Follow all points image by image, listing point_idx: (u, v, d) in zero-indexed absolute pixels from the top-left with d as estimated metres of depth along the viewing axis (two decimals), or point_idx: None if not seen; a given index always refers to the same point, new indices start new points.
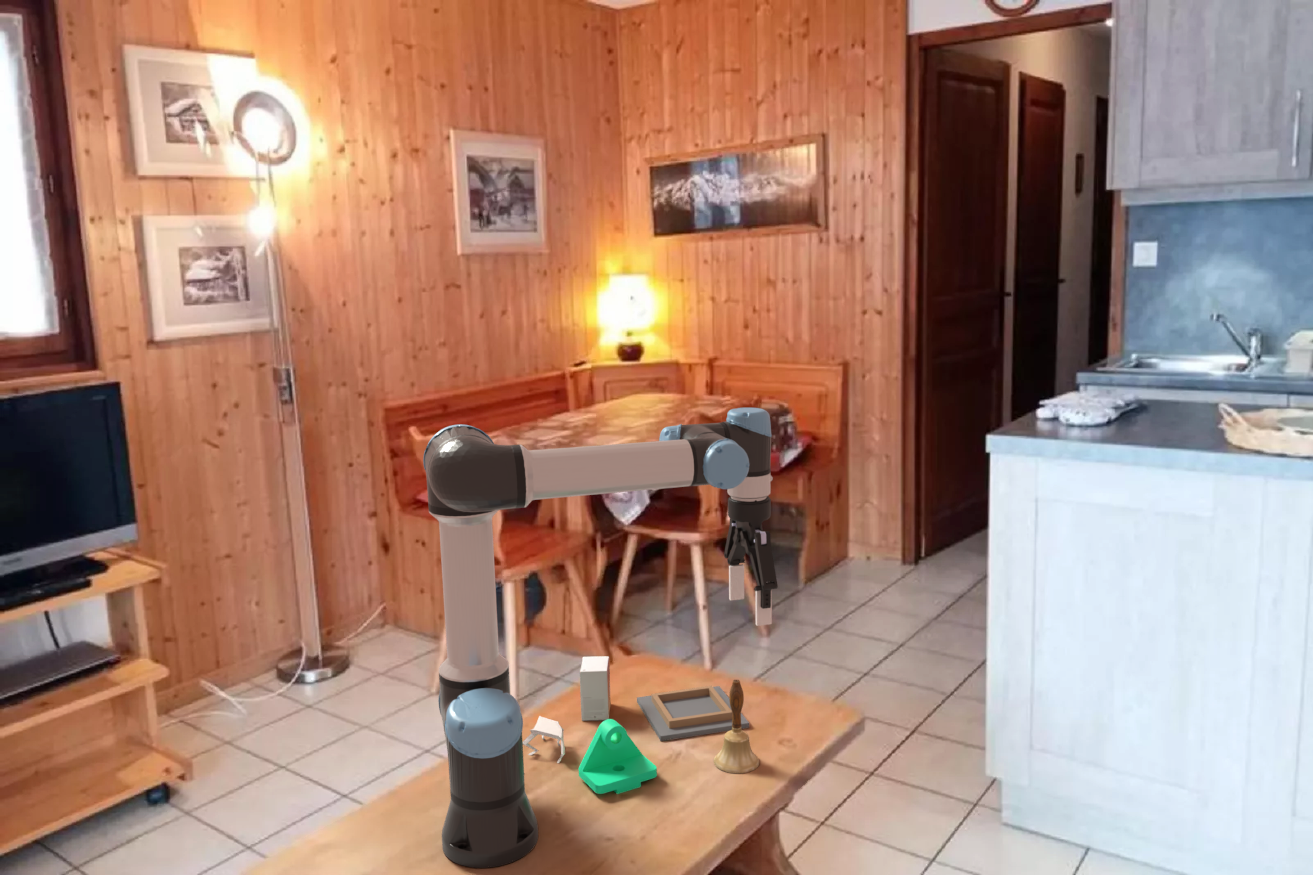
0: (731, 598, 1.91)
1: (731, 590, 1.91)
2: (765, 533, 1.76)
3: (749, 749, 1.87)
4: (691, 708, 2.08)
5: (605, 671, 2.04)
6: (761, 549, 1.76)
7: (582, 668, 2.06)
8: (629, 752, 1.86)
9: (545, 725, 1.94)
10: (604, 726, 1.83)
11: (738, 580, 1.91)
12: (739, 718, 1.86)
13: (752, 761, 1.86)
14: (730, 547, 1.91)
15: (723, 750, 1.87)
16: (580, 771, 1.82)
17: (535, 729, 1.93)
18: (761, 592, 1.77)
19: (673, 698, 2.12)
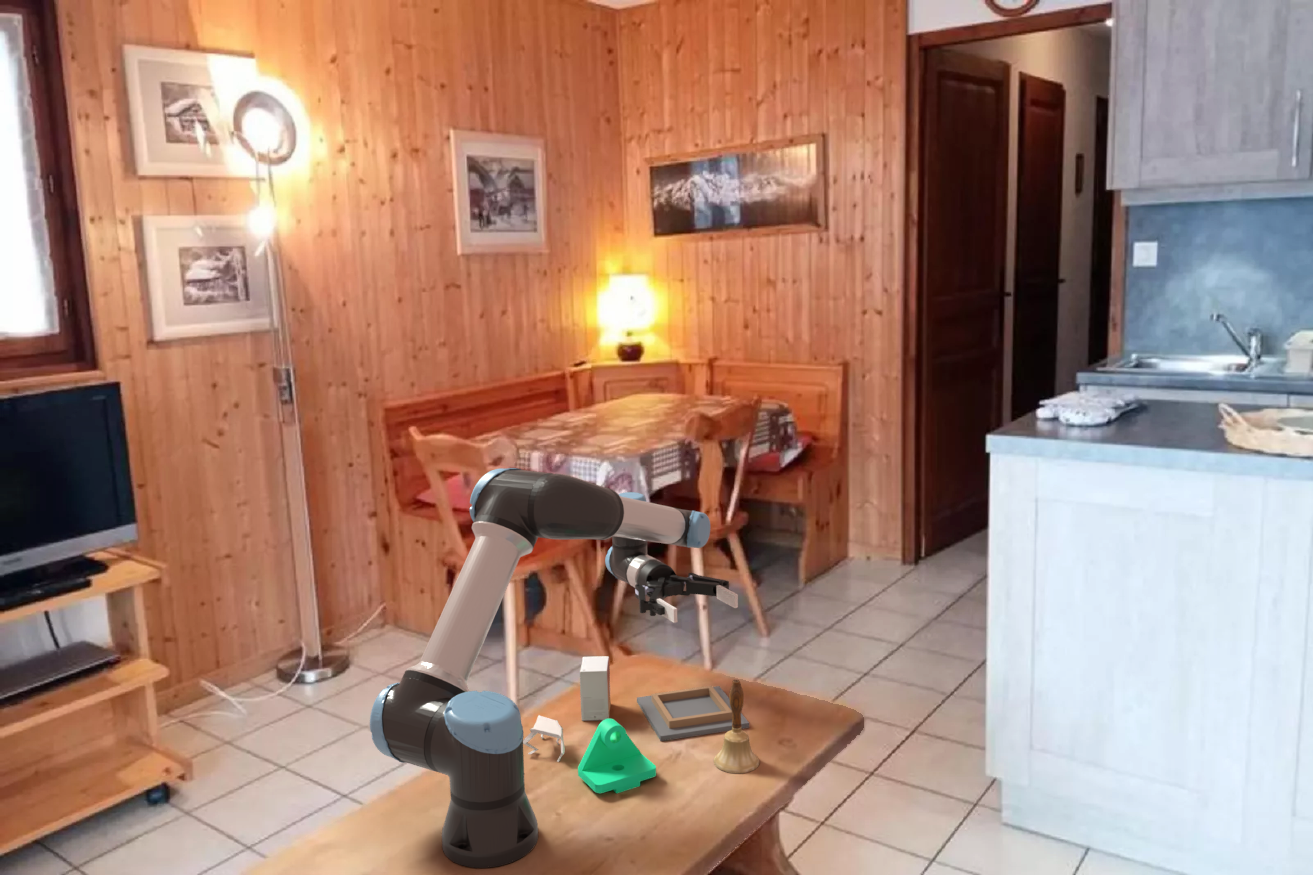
0: None
1: None
2: None
3: (749, 749, 1.87)
4: (691, 708, 2.08)
5: (605, 671, 2.04)
6: None
7: (582, 668, 2.06)
8: (628, 751, 1.86)
9: (545, 724, 1.94)
10: (604, 725, 1.83)
11: None
12: (739, 718, 1.86)
13: (752, 761, 1.86)
14: None
15: (723, 750, 1.87)
16: (579, 770, 1.82)
17: (535, 728, 1.93)
18: None
19: (673, 698, 2.12)
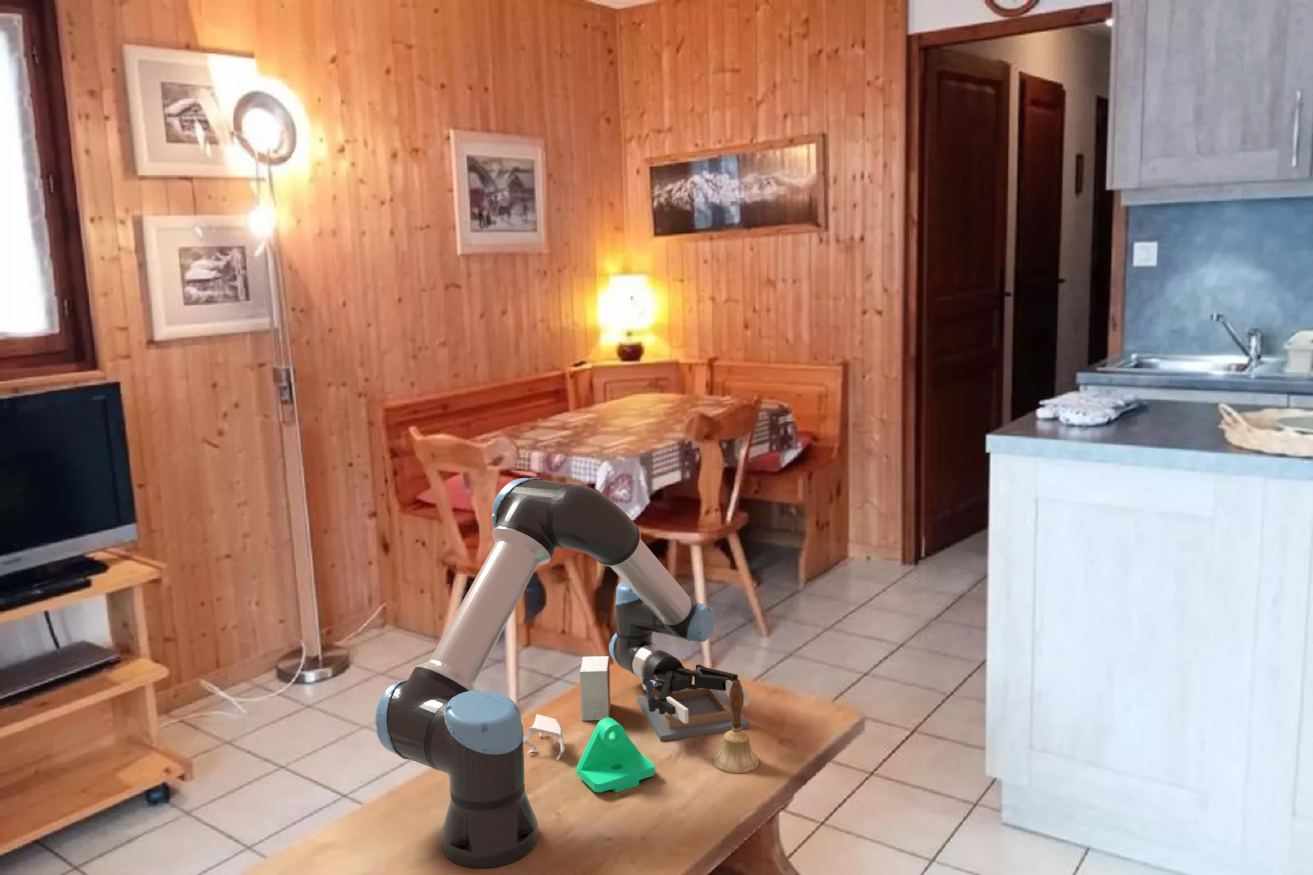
0: None
1: None
2: None
3: (749, 749, 1.87)
4: (691, 708, 2.08)
5: (605, 671, 2.04)
6: None
7: (582, 668, 2.06)
8: (627, 750, 1.86)
9: (543, 723, 1.95)
10: (602, 724, 1.83)
11: None
12: (739, 718, 1.86)
13: (752, 761, 1.86)
14: None
15: (723, 750, 1.87)
16: (578, 770, 1.83)
17: (534, 727, 1.93)
18: None
19: (673, 698, 2.12)
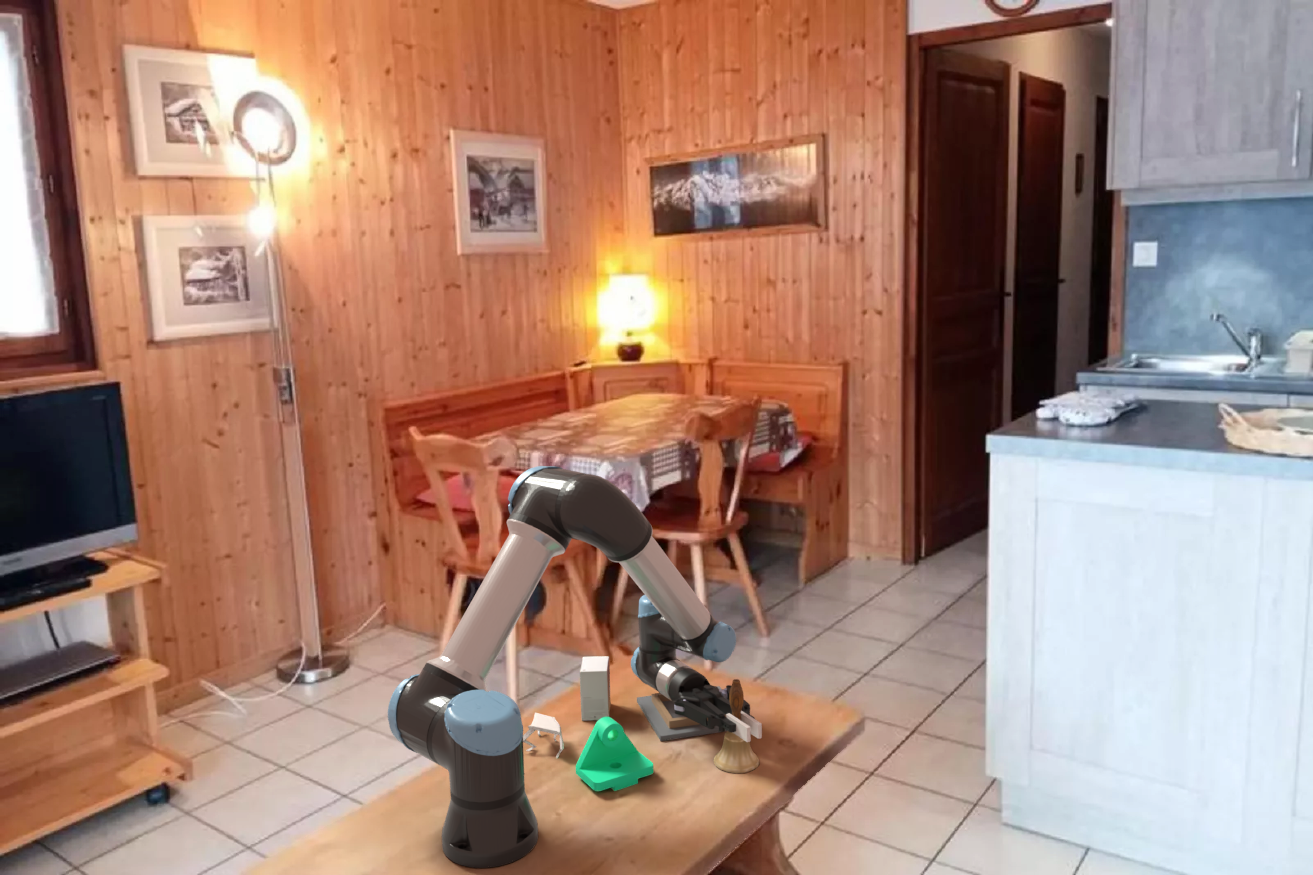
0: None
1: None
2: None
3: (749, 749, 1.87)
4: None
5: (605, 671, 2.04)
6: None
7: (582, 668, 2.06)
8: (625, 749, 1.87)
9: (542, 721, 1.96)
10: (601, 723, 1.84)
11: None
12: (739, 718, 1.86)
13: (752, 761, 1.86)
14: None
15: (723, 750, 1.87)
16: (577, 769, 1.83)
17: (533, 725, 1.94)
18: None
19: None
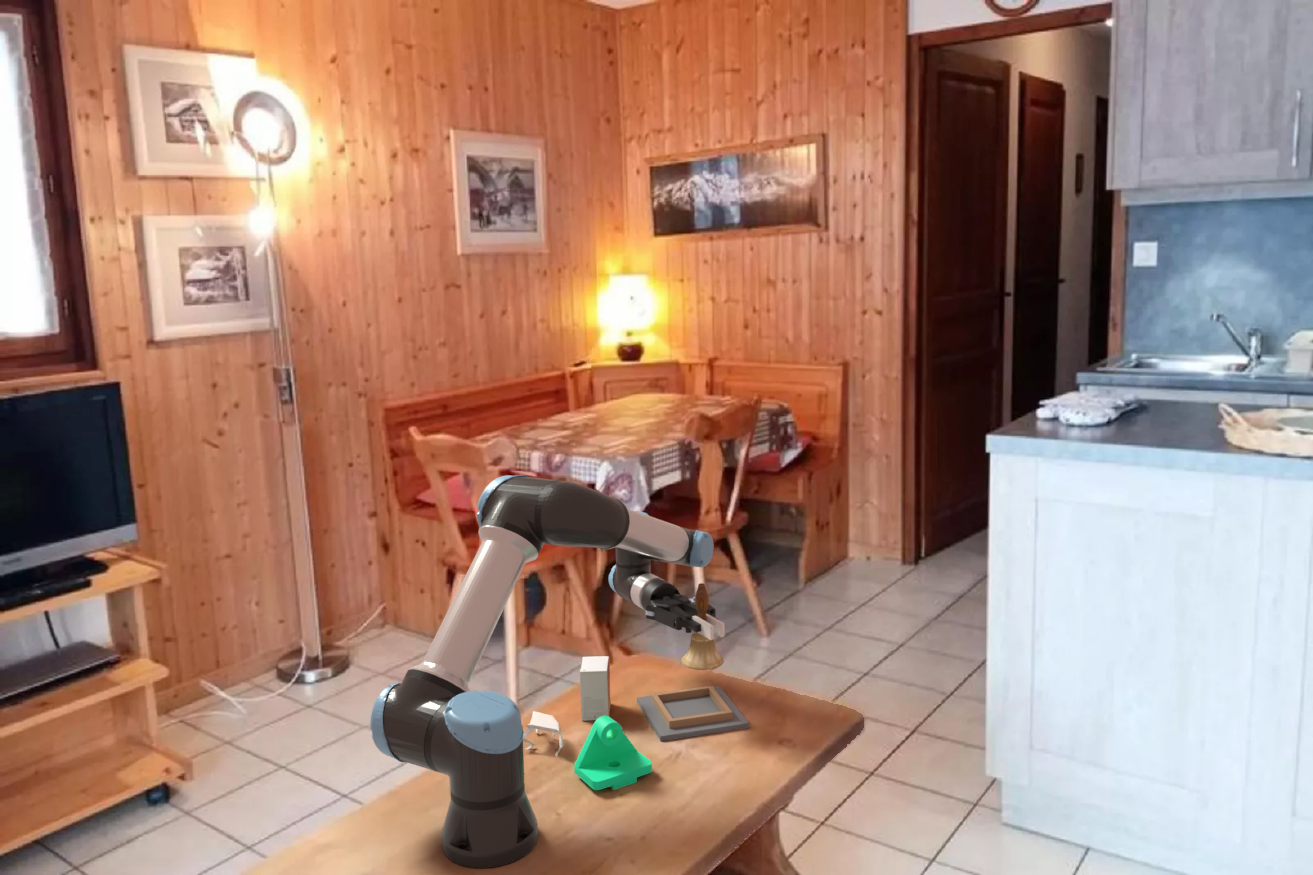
0: None
1: None
2: None
3: (714, 648, 2.01)
4: (691, 708, 2.08)
5: (605, 671, 2.04)
6: None
7: (582, 668, 2.06)
8: (624, 748, 1.87)
9: (541, 719, 1.96)
10: (600, 723, 1.84)
11: None
12: (704, 619, 2.00)
13: (716, 659, 2.00)
14: None
15: (690, 649, 2.01)
16: (576, 768, 1.83)
17: (531, 724, 1.95)
18: None
19: (673, 698, 2.12)
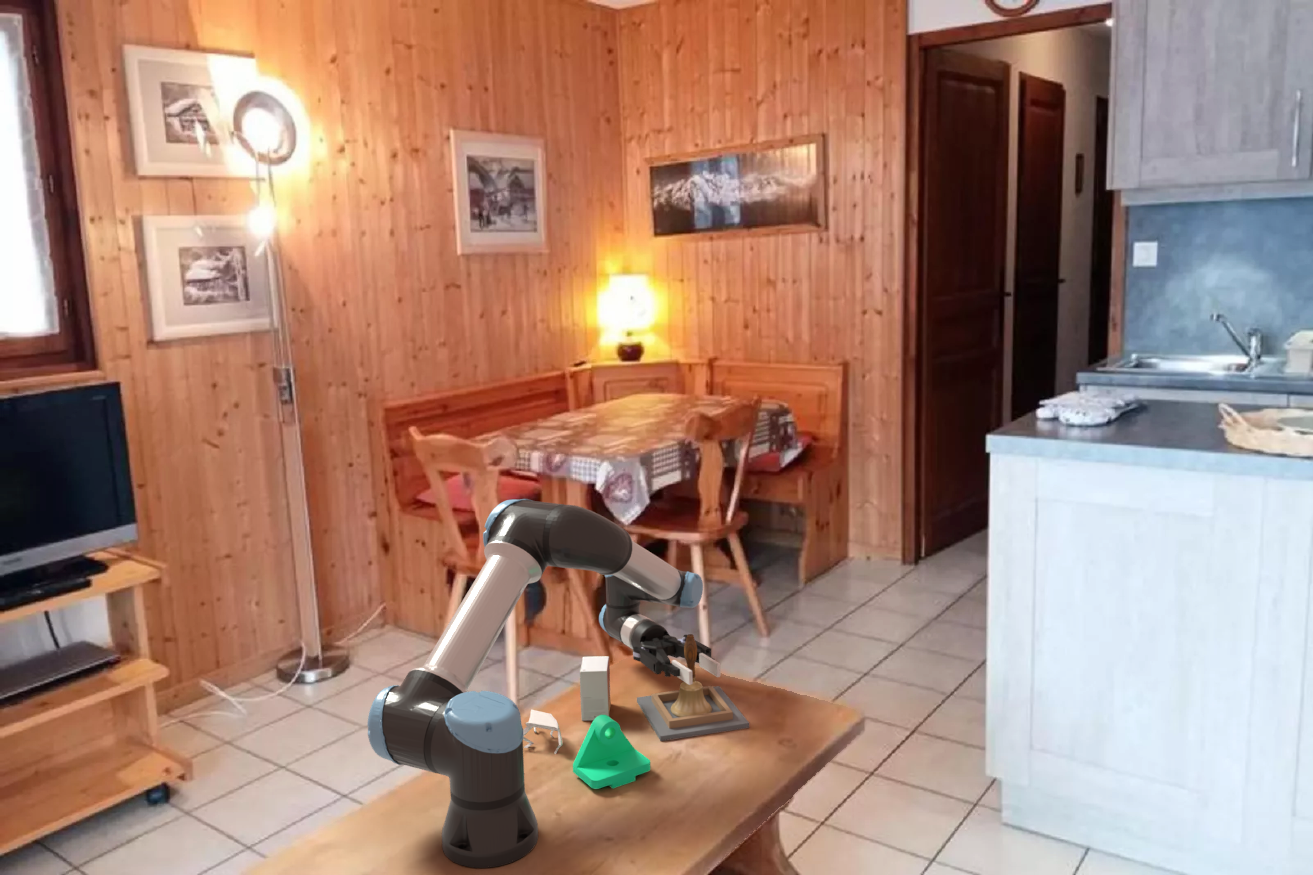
0: None
1: None
2: None
3: (702, 697, 2.06)
4: None
5: (605, 671, 2.04)
6: None
7: (582, 668, 2.06)
8: (622, 747, 1.88)
9: (539, 717, 1.97)
10: (598, 721, 1.84)
11: None
12: (693, 669, 2.05)
13: (705, 708, 2.06)
14: None
15: (679, 698, 2.06)
16: (574, 767, 1.84)
17: (530, 722, 1.96)
18: None
19: (673, 698, 2.12)
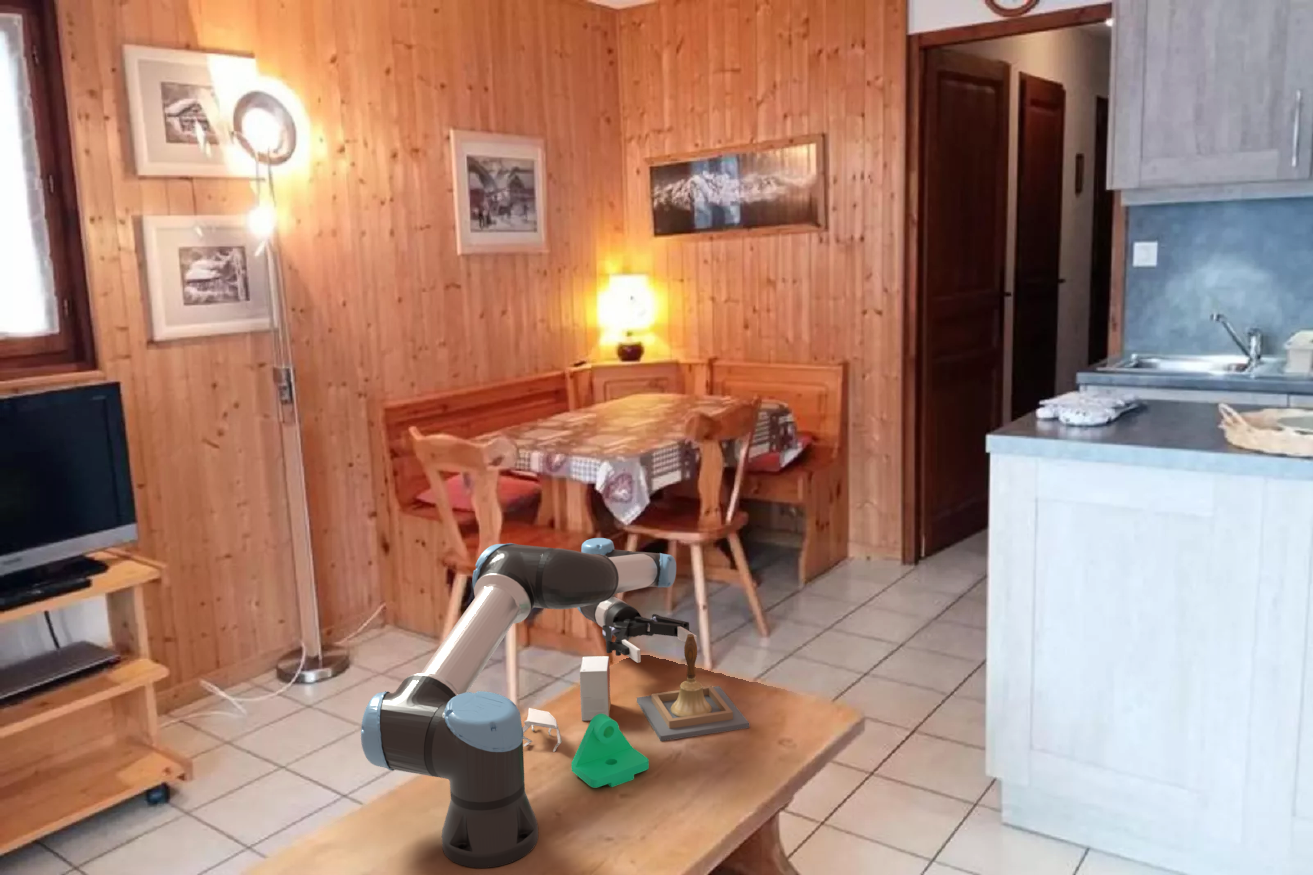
0: None
1: None
2: None
3: (702, 697, 2.06)
4: None
5: (605, 671, 2.04)
6: None
7: (582, 668, 2.06)
8: (620, 746, 1.88)
9: (537, 716, 1.98)
10: (596, 720, 1.85)
11: None
12: (693, 669, 2.05)
13: (705, 708, 2.06)
14: (611, 638, 2.18)
15: (679, 698, 2.06)
16: (573, 766, 1.84)
17: (529, 720, 1.96)
18: None
19: (673, 698, 2.12)
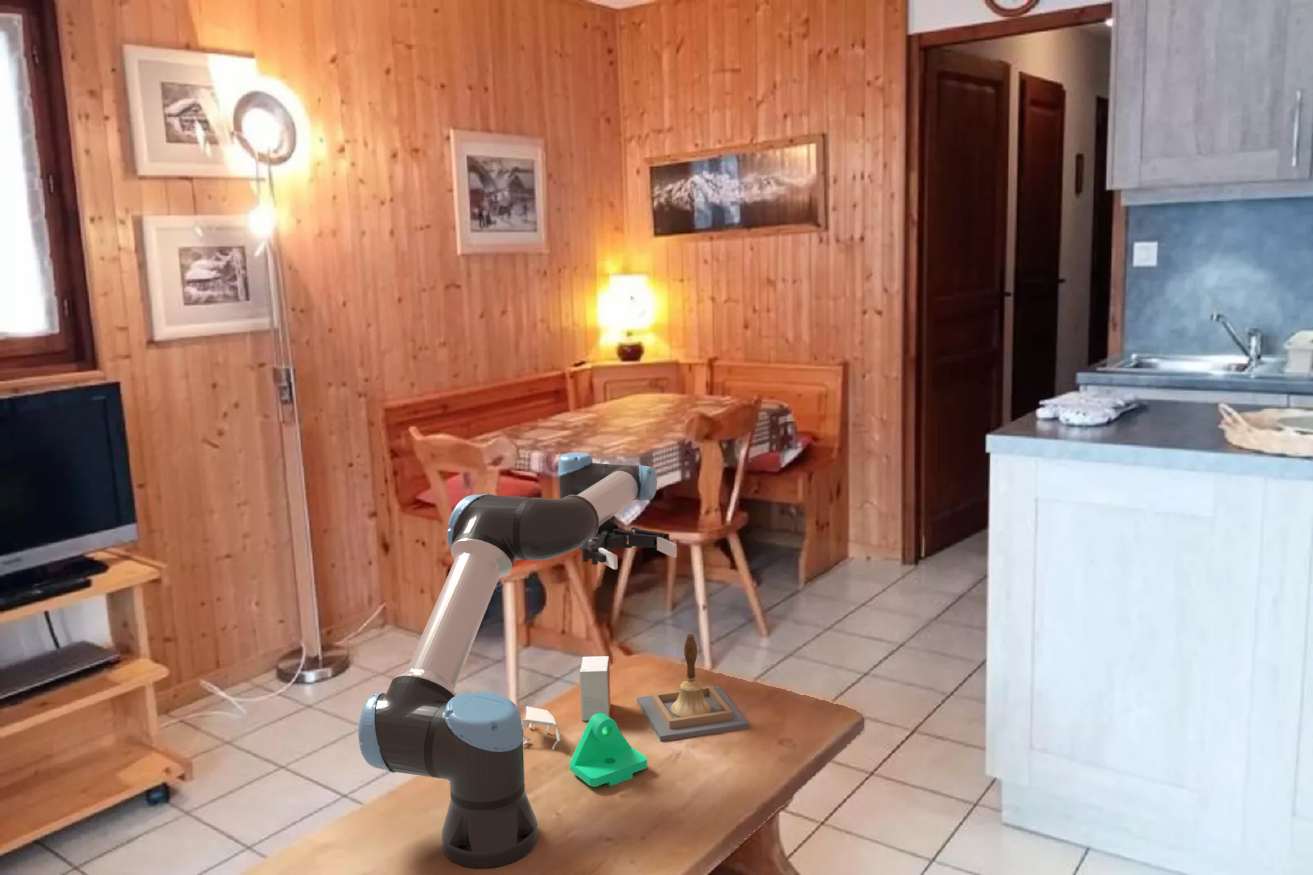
0: None
1: None
2: None
3: (702, 697, 2.06)
4: None
5: (605, 671, 2.04)
6: None
7: (582, 668, 2.06)
8: (618, 744, 1.89)
9: (536, 714, 1.99)
10: (595, 719, 1.85)
11: None
12: (693, 669, 2.05)
13: (705, 708, 2.06)
14: (588, 547, 2.10)
15: (679, 698, 2.06)
16: (572, 765, 1.84)
17: (527, 719, 1.97)
18: None
19: (673, 698, 2.12)
